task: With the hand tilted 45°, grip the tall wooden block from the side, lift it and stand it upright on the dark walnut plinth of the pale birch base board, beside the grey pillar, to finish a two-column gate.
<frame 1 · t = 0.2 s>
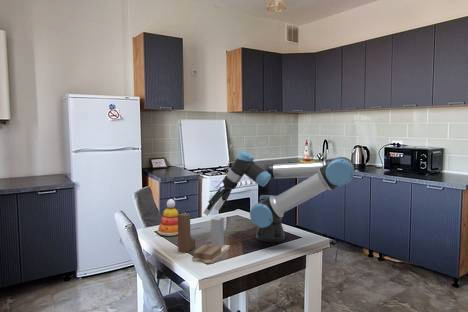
hand: (211, 211, 183), 15 cm above the table, tool tilted 35°, fingers open, 13 cm apart
grey pillar: (217, 246, 170), resting on base board
wooden block: (186, 250, 170), on the table
stacking toy: (170, 233, 197), on the table
base board: (211, 254, 163), on the table
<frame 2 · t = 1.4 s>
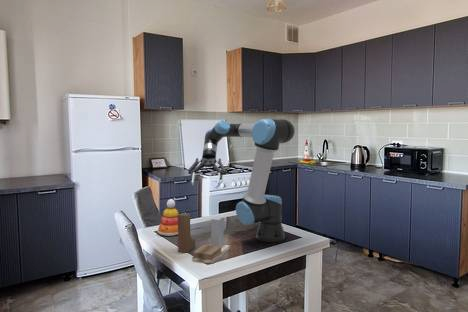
hand: (205, 184, 182), 30 cm above the table, tool tilted 45°, fingers open, 13 cm apart
nothing on the table moved.
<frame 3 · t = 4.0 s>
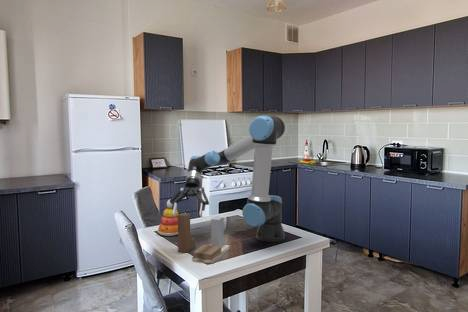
hand: (187, 215, 176), 15 cm above the table, tool tilted 45°, fingers open, 13 cm apart
nothing on the table moved.
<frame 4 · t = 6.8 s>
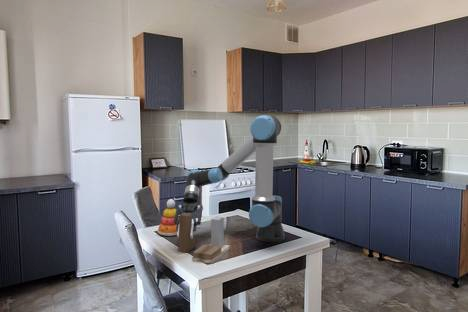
hand: (184, 236, 166), 7 cm above the table, tool tilted 45°, fingers closed on wooden block, 6 cm apart
wooden block: (186, 249, 170), on the table, touching gripper
everything else where it was.
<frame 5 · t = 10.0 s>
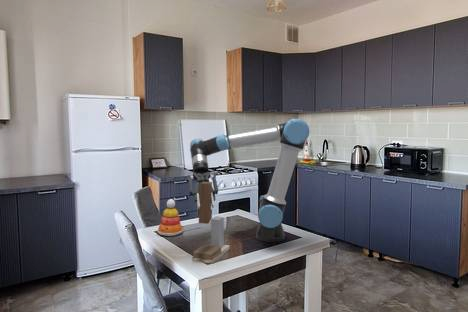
hand: (206, 206, 154), 24 cm above the table, tool tilted 45°, fingers closed on wooden block, 6 cm apart
wooden block: (205, 221, 159), point 17 cm above the table, touching gripper
everything else where it was.
when the fingers open (13 cm above the table, at t = 13.3 s): wooden block drops 1 cm, resting on base board.
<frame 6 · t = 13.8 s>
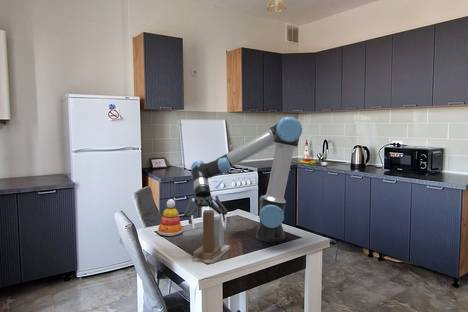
hand: (208, 228, 155), 14 cm above the table, tool tilted 45°, fingers open, 13 cm apart
wooden block: (209, 249, 159), point 4 cm above the table, touching base board
everything else where it was.
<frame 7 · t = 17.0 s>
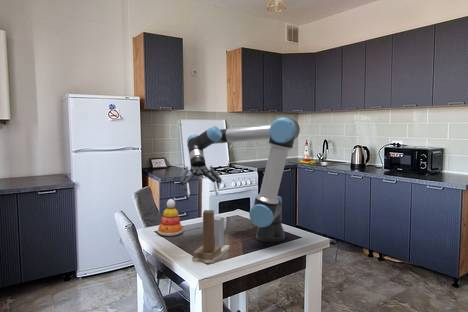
hand: (203, 194, 166), 27 cm above the table, tool tilted 45°, fingers open, 13 cm apart
nothing on the table moved.
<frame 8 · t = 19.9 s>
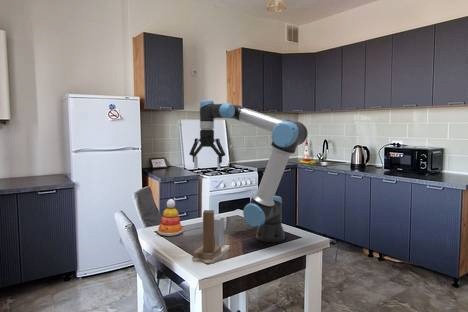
hand: (207, 168, 191), 37 cm above the table, tool pointing down, fingers open, 13 cm apart
nothing on the table moved.
at the end: wooden block inside the target area (0.8 cm from its centre), point 3.8 cm above the table; wooden block tilted 0°; the gripper is holding nothing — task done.
